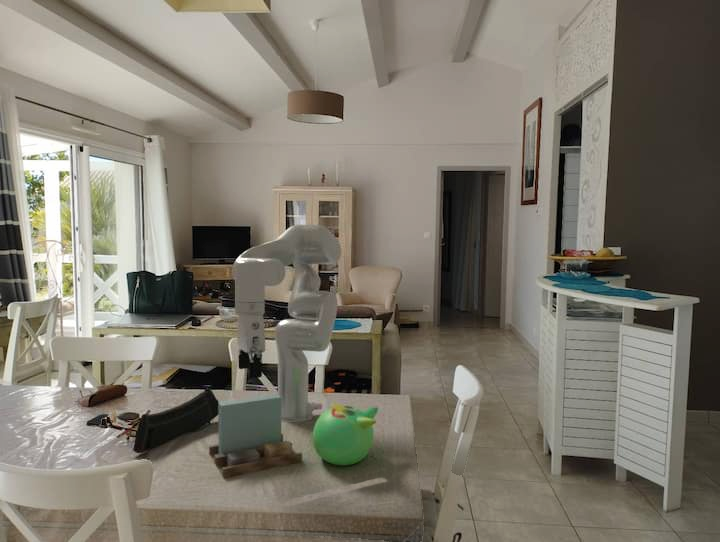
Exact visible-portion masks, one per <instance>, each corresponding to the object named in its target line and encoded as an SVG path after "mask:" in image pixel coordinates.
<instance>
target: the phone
mask: <svg viewBox="0 0 720 542" xmlns="http://www.w3.org/2000/svg"><path fill="white" fill-rule="evenodd" d="M108 415H109V414H107V413H103V414H102V413H101V414H98V415H97V416H95V417H93V418H91V419H89V420H87V421H86V426H90V425H96V426H95V427H100V426H99V425H100V424H101V419H102V418H105V417H107V416H108Z"/></svg>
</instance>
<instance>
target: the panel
mask: <svg viewBox="0 0 720 542" xmlns="http://www.w3.org/2000/svg"><path fill="white" fill-rule="evenodd" d="M217 416H218V425H217V426H218V444H219V454H222V453H227V452H233V451H238V450H243V449H249V448H254V447H260V446H264V445H267V444H272V443H277V442H281V433H282V421H281V396H279V395H278V393H277V394H269V395H261V396H260V395H259V396H255V397H246V398H240V399H233V400H225V401H218V415H217Z"/></svg>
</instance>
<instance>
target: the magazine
mask: <svg viewBox="0 0 720 542" xmlns="http://www.w3.org/2000/svg"><path fill="white" fill-rule="evenodd" d="M218 402H219V400H218V399H217V398H216V396H215V394H214V391H213V390H211V388H208V387H206V388H204V390H203V391H202V392H200V393H198V395H196V396H195V397H193V398H191V399H189V400H188V401H185V402H184V403H182V404H180V405H178V406H174V407H172V408H169V409H165V410H163V411H161V412H157V413H151V414H147V413H144V414H142V415H141V417H142V418H141V420H140V422H139V424H138V423H137V424H138V425H137V429H136V434H135V439H134V444H133V449H132V452H134V453H136V454H143V453H145V452H149V451H151V450H152V451H153V450H154V449H156V448H158V447H160V446H163V445H165V444H167V443H168V442H169V443H170V442H171V441H173V440H176V439H178V438H179V437H182V436H184V435H186V434H192V433H196V432H197V431H198V430H201V428H203V427H205V426H206V425H207V424H208V423H209V425H210V424H211V423H212V421H213V420H214V419H215V418H216V417H217V416H218Z"/></svg>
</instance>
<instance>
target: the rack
mask: <svg viewBox="0 0 720 542" xmlns="http://www.w3.org/2000/svg"><path fill="white" fill-rule="evenodd" d="M283 441H284V433H282V432H281V442H283ZM286 441H287V440H286ZM287 442H288V443H289V444H290V445H291V446H292V447H293V442H292V441H290V440H288V441H287ZM250 449H256V451H257V452H258V453H259V454H260V460H259V461H254V462H249V463H244V464H239V465H234V466H229V467H228V466H227V454H229V453H234V452H239V451H245V450H250ZM208 454H209V456H210V458H211V459H212V462H213V463H214V464H215V466H216V468H217V470H218V471H219V473H220V475H221V477H222V478H223V479H224V480H225V479H229V478H234V477H235V478H236V477H239V476H243V475H249V474H252V473H257V472H263V471H268V470H272V469H276V468H282V467H287V466H291V465H297V464H301V463H303V453H302V452H301V451H300V452H299V451H298V452H294V451H293V450H292V454H289V455H284V456H279V457H274V458H269V459H265V458H264V446H260V447H254V448H249V449H243V450H238V451H233V452H227V453H222V454H219V443H218V444H213V445H209V447H208Z"/></svg>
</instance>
